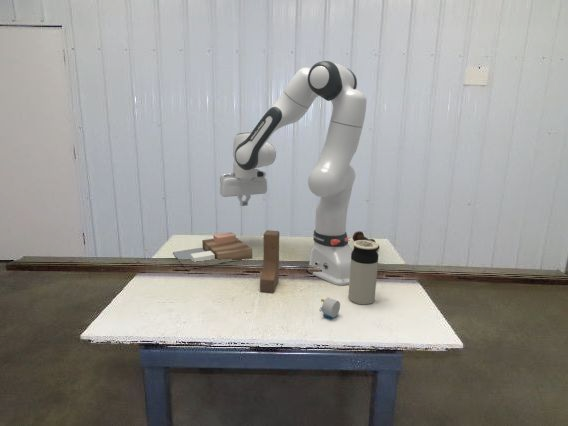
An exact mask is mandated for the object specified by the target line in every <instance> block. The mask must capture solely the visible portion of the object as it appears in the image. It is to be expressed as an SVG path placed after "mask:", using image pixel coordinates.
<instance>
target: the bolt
mask: <svg viewBox="0 0 568 426" xmlns="http://www.w3.org/2000/svg"><path fill="white" fill-rule="evenodd" d="M357 240H368V241H373V242H375V243H377V242H376V241H375V239H373V238H370V239H369V238H368V237H366V236H365V235H364V233H363V231H359V230H358V231H355V232H354V233H353V235H352V241H353V242H354V241H357ZM378 250H380V245H379V244H378V248H377V251H378Z"/></svg>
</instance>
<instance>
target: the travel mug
mask: <svg viewBox="0 0 568 426" xmlns="http://www.w3.org/2000/svg"><path fill="white" fill-rule="evenodd" d="M375 242H376V241H375ZM375 242H373V241H368V240H357V241H354V240H353V242H352V245H353V248H352V250H353V251H352V253H351V266H350V280H349V284H348V299H349V300H350V301H351V302H353V303H355V304H357V305H369V304H373V303H374V302H375V301H376V289H377V278H378V277H377V276H378V266H379V253H378V250H377V248H378V245H379V244H378V242H376V243H375Z"/></svg>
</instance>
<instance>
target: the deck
mask: <svg viewBox="0 0 568 426" xmlns="http://www.w3.org/2000/svg"><path fill="white" fill-rule="evenodd" d="M201 245H202V249H204V250H205V251H211V252H212V253H213V254H215V259H218V260H221V259H232V260H239V261H243V260H242V259H245V260H250V259H253V248H252V247H250V246H249V245H247V244H246V243H245V242H243V241H242V240H241V239H240V238H237V237H236V241H234V242H227V243H220V244H217V243H216V242H215V241H214V240H213V238H207V239H203V240H202V244H201Z"/></svg>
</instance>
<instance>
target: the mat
mask: <svg viewBox="0 0 568 426" xmlns="http://www.w3.org/2000/svg"><path fill="white" fill-rule="evenodd" d="M199 252H205V250H204V249H203V247H196V248H191V249H182V250H177V251H172V255H173V256H174V257H175V258H176V259H177V258H178V259H190V254H193V253H199ZM178 259H177V260H178Z"/></svg>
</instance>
